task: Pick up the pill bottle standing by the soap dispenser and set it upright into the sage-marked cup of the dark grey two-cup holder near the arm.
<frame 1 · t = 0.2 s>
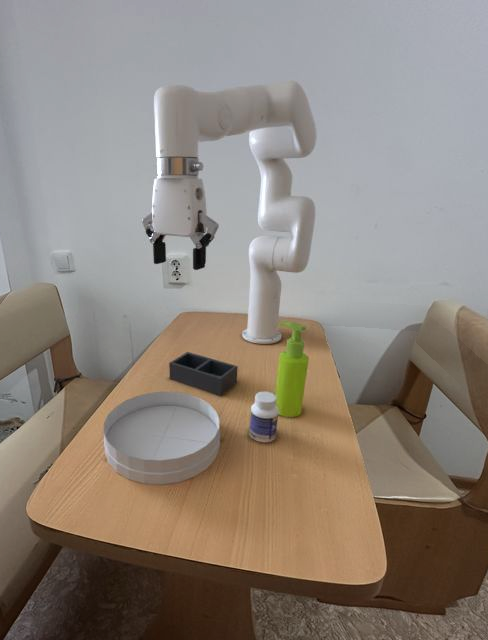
hand: (178, 265, 74), 31 cm above the table, tool pointing down, fingers open, 9 cm apart
dish: (163, 443, 72), on the table
holder: (202, 380, 95), on the table
pill bottle: (262, 435, 74), on the table
soap dispenser: (285, 409, 83), on the table
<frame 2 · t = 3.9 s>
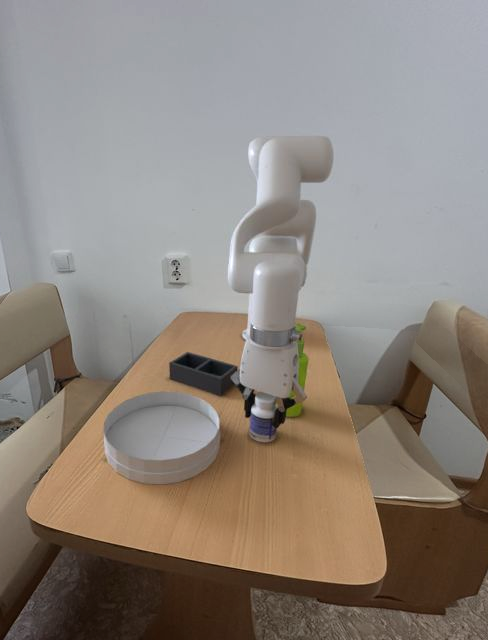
hand: (263, 418, 73), 4 cm above the table, tool pointing down, fingers closed on pill bottle, 5 cm apart
pill bottle: (262, 435, 74), on the table, touching gripper
everything else where it was.
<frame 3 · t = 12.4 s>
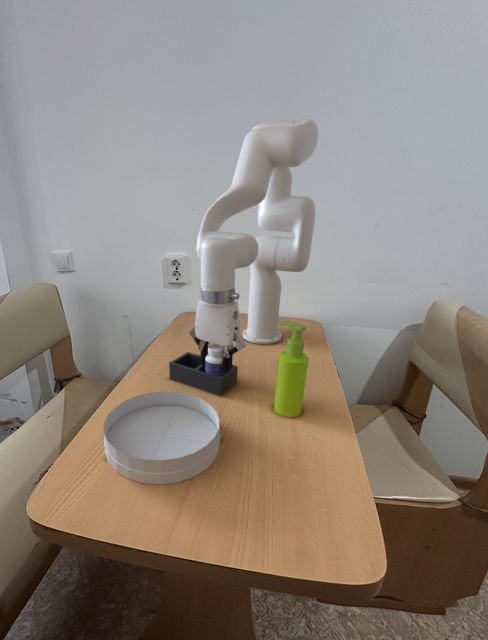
hand: (216, 366, 91), 5 cm above the table, tool pointing down, fingers closed on pill bottle, 5 cm apart
pill bottle: (215, 380, 93), point 1 cm above the table, touching gripper
everything else where it was.
when the fingers open (6 cm above the table, at t = 20.7 s): pill bottle drops 1 cm, resting on holder.
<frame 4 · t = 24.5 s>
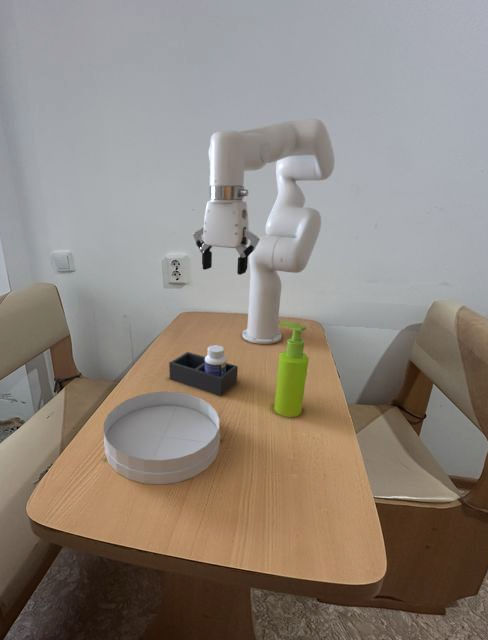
hand: (223, 271, 91), 26 cm above the table, tool pointing down, fingers open, 9 cm apart
pill bottle: (215, 381, 93), point 1 cm above the table, touching holder
everything else where it was.
at the end: pill bottle 0.4 cm from the target spot in the holder, point 0.6 cm above the holder's base; pill bottle tilted 0°; the gripper is holding nothing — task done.
